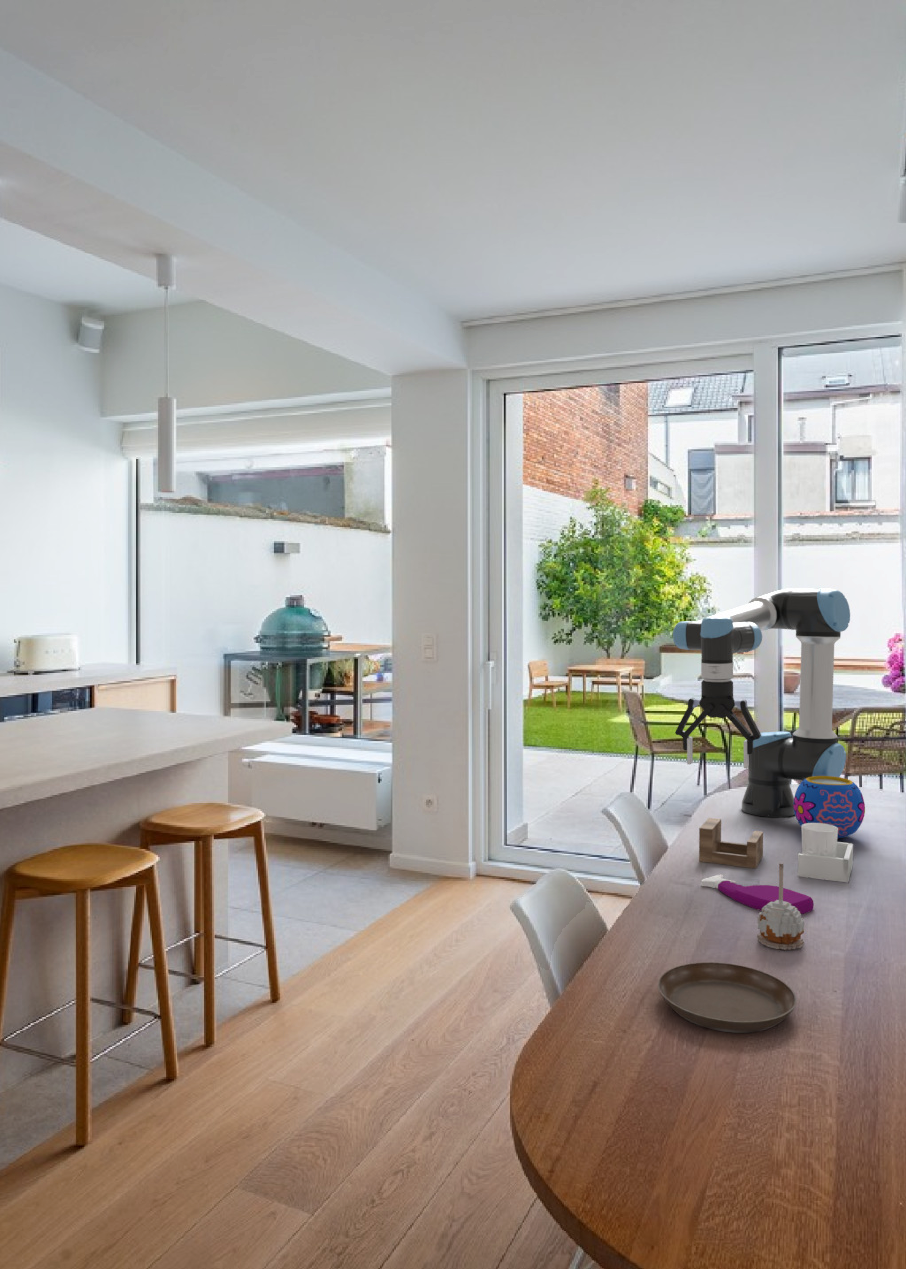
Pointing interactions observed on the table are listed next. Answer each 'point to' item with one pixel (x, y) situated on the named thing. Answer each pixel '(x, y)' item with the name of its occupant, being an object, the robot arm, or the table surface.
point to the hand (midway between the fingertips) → (717, 765)
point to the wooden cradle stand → (728, 847)
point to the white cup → (819, 839)
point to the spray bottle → (758, 894)
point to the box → (828, 864)
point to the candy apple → (780, 922)
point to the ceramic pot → (830, 803)
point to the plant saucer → (727, 996)
